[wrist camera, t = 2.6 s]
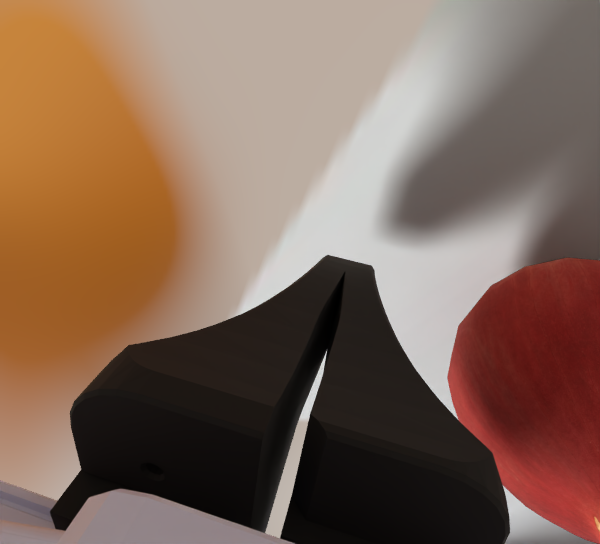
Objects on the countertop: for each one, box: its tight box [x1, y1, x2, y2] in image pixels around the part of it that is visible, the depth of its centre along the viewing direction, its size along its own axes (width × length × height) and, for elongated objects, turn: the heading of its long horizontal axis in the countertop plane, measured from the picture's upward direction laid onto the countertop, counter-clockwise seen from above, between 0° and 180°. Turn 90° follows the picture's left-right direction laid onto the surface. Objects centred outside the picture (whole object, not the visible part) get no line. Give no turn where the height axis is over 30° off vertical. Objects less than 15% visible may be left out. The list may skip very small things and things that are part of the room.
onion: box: [447, 258, 600, 544], centre depth 10 cm, size 6×6×8 cm
